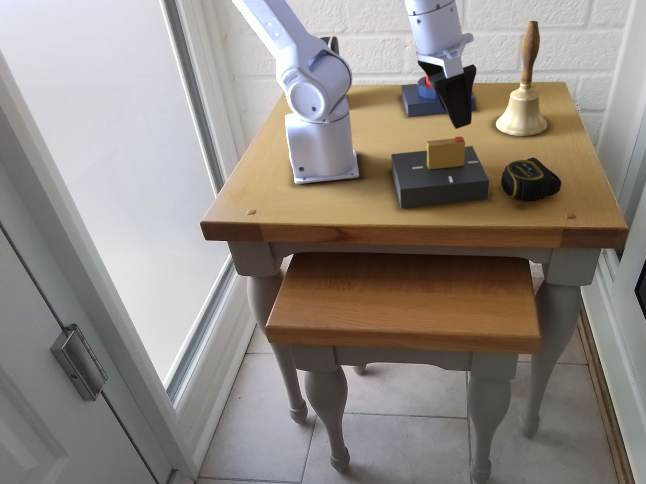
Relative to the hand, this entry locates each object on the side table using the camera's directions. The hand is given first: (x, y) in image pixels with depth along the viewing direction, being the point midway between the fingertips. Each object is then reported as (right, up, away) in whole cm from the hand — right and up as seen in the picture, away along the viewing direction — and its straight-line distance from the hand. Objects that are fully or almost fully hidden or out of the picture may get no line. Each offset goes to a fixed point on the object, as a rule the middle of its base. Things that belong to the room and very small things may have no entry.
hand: (456, 115), depth 71 cm
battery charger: (-19, +11, +29) cm, 37 cm away
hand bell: (+13, +4, +19) cm, 23 cm away
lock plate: (-2, -8, +6) cm, 10 cm away
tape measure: (+10, -9, +3) cm, 14 cm away
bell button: (0, +14, +24) cm, 28 cm away
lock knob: (-1, -6, +4) cm, 7 cm away
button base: (0, +11, +27) cm, 29 cm away
